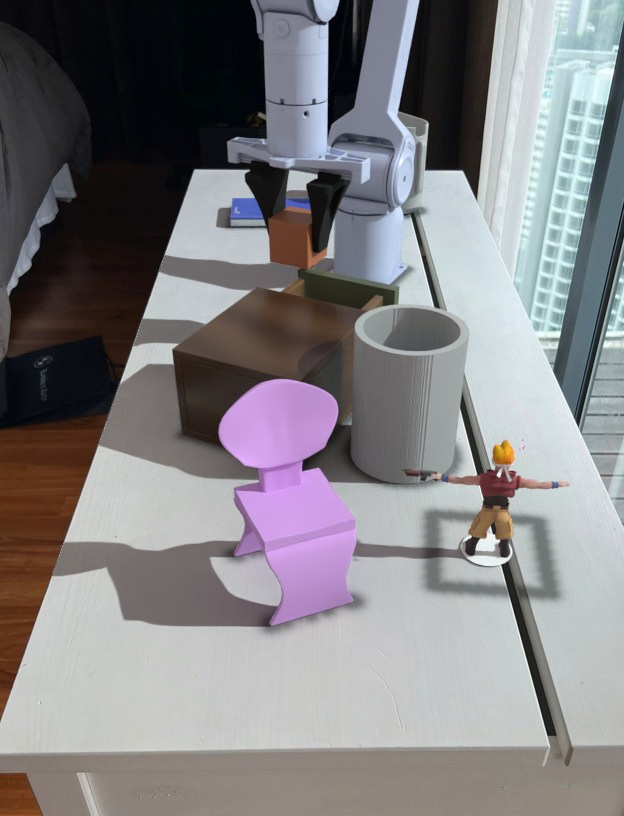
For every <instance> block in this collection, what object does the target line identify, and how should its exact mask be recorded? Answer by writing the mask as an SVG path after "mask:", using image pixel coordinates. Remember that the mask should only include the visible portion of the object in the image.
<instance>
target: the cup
mask: <svg viewBox="0 0 624 816" xmlns="http://www.w3.org/2000/svg"><path fill="white" fill-rule="evenodd" d="M469 338H470V330H469V326H468V325H467V323H466V322H465V321H464V320H462V318H461V317H458V316H457V315H455V314H454V313H452V312H449V311H447V310H444V309H441V308H438V307H433V306H429V305H423V304H412V303H403V304H401V303H400V304H399V303H398V305H389V306H383V307H379V308H376V309H373V310H370V311H368V312H366V313H364V314H363V315H362V316H361V317H359V318H358V319H357V321H356V323H355V330H354V362H353V394H352V412H351V426H350V427H351V429H350V431H351V432H350V457H351V460H352V461H353V462H352V463H354V465H355V466H356V467H357V468H358V469H359V470H360V471H361V472H363V473H365V475H368V476H369V477H372V478H373V479H377V480H380V481H383V482H388V483H393V484H404V485H406V484H407V485H408V484H411V485H412V484H419V483H425V482H428V481H431V480H435V479H434V478H432V477H429V476H428V477H427V479H426V481H421V477H422V476H421V475H420V476H419V477H414V476H406V474H405V471H402V469H403V470H405V469H406V468H407V469H413V468H417V469H420V470H433V471H437V472H438V473H440V474H441V475H442V476H443V475H445V473H446V472H448V470H449V469H450V468H451V467H452V465H453V462H454V457H455V449H456V441H457V435H458V434H457V433H458V427H459V418H460V410H461V403H462V395H463V386H464V378H465V371H466V370H465V369H466V363H467V356H468V355H467V354H468V346H469Z"/></svg>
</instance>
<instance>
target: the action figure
mask: <svg viewBox="0 0 624 816" xmlns="http://www.w3.org/2000/svg"><path fill="white" fill-rule="evenodd" d="M491 463H492V465H493V466H494V469H489V468H487V469H486V472H485V473H482V472H481V473H479V474H477V475H466V476H462V477H460V476H456V475H448V474H447V475H446V474H442V475H441V474H440V473H438V472H437V471H433V470H420V469H417V468H413V469H407V468H406V469H405V470H403V469H402V471H405V474H406V476H414V477H419V476H420V475H421V476H422V477H421V481H425V482H427V481H426V479H427V477H428V476H429V477H432V478H434V479H433V480H434V481H435V482H438V481H441V482H445V483H450V484H453V485H465V486H479V487H480V488H481V495H482V497H484V498H483V500H482V506H481V509H480V511H479V512H478V513H477V514H476V516H475V517H474V518H473V520H472V523H471V524H470V527H469V529H468V532H467V533H468V535H467V536H466V537H464V539H463V540H462V541H461V543H460V551H461V553H462V554H463V556H464V557H465V558H466V559H467V560H468V561H470V562H472V563H473V564H476V565H480V566H483V567H484V566H485V567H497V566H501V565H503V564H506V563H507V562H509V561H510V560H511V558H512V557H513V548H512V546H511V544H510V541H509V540H510V539H512V538H514V535H515V533H514V525H513V519H512V517H511V514H510V511H509V509H510V504H511V502H510V498H514V497H515V495H516V491H517V490H519V489H529V490H550V489H552V490H554V489H558V488H564V487H569V486H570V485H571V484H570V482H569V481H563V479H562V478H561V479H560V480H558V481H541V482H539V481H537V480H535V479H530V478H527V479H526V478H525V477H522V476H521V475H519V474H517V471H516V470H510V468H511V467H513V465H514V464H515V451H514V448H513V447H512V445H511V443H510V442H509V440H507V439H505V440H503V441H502V442H501V444H496V443H495V444H494V446H493V448H492V457H491ZM492 524H494V526H495V529H496V530H495V532H494V534H493V533H489V532H488V531H489V529H490V527H491V526H492Z"/></svg>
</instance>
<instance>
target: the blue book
mask: <svg viewBox="0 0 624 816" xmlns="http://www.w3.org/2000/svg"><path fill="white" fill-rule="evenodd" d="M289 206H292V207H297V208H303V209H308V210H311V208H310V202H309V197H308V198H307V197H305V198H303V197H302V198H301V197H298V198H297V197H286V208H287V207H289ZM229 220H230V227H266V225H265V222H264V219H263V216H262V213H261V210H260V208H259V205H258V203H257V201H256V199H255V197H232V198H231V209H230V219H229Z"/></svg>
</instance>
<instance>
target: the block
mask: <svg viewBox="0 0 624 816" xmlns="http://www.w3.org/2000/svg"><path fill="white" fill-rule="evenodd" d="M268 245H269V247H268V248H269V262H270V263H274V264H277V265H278V264H279V265H283V266H289V267H293V268H297V269H300V268H302V269H306V270H308V269H309V268H312V267H314V266H315V265H316V264H318V263H319V262H320V261H322V260H323V259H324V258H325V257H327V256H328V247H327V248H326V249H324V250H323V251H322V252H320V253H316V252H313V246H312V216H311V210H308V209H303V208H297V207H292V206H289V207H287V208H285V209H284V210H282V211H280V212H279V213H277V214H276V215H274V216H272V217H271V218H269V236H268Z"/></svg>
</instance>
